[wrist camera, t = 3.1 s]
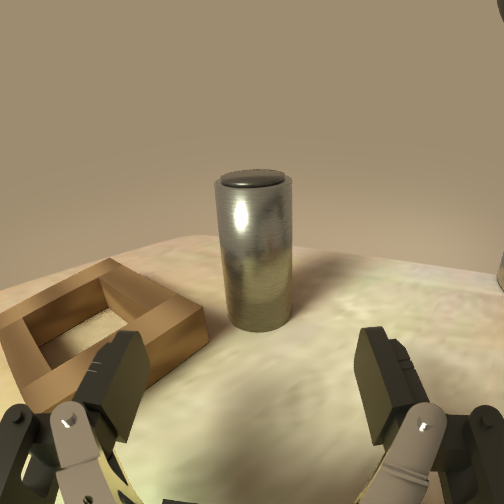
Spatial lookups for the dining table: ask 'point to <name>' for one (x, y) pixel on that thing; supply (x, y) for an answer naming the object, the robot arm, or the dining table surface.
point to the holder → (85, 306)
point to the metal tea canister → (256, 247)
